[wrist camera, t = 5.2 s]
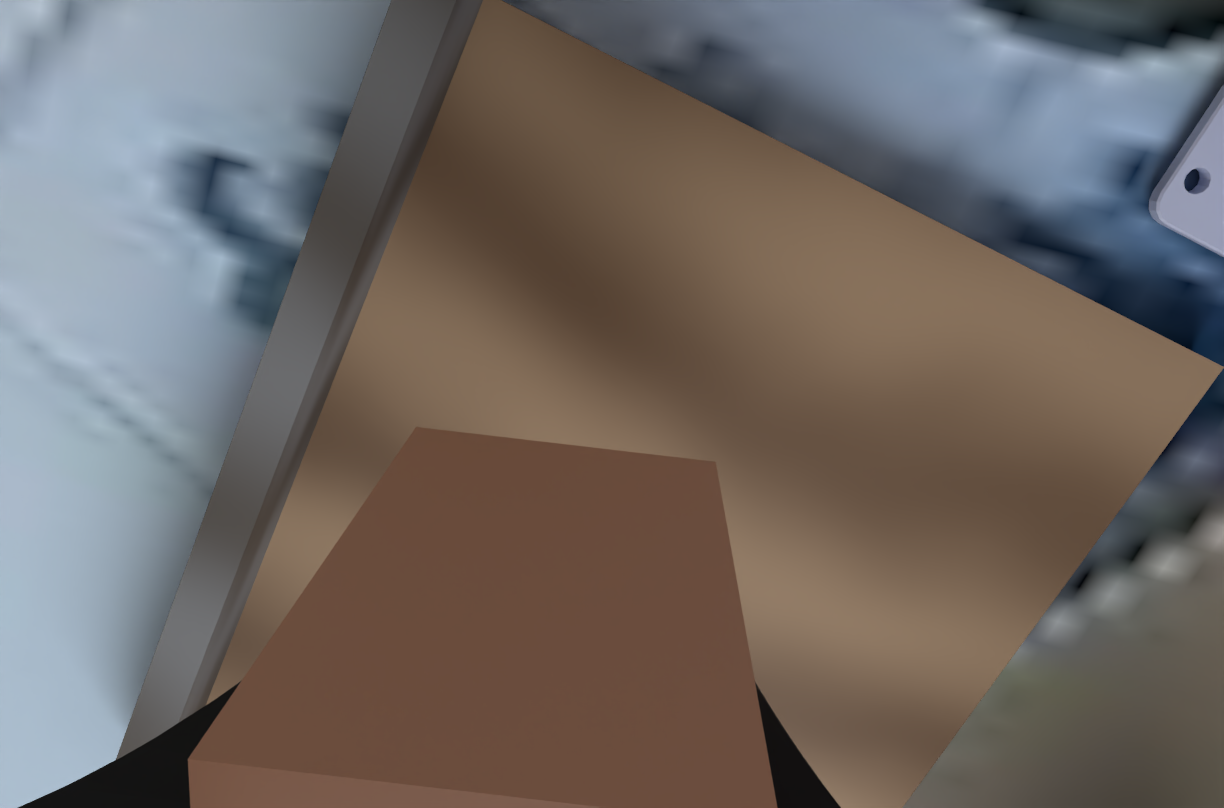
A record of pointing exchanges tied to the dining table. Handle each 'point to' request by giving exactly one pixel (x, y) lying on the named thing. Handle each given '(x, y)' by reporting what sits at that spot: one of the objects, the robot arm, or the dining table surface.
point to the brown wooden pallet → (682, 381)
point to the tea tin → (507, 645)
